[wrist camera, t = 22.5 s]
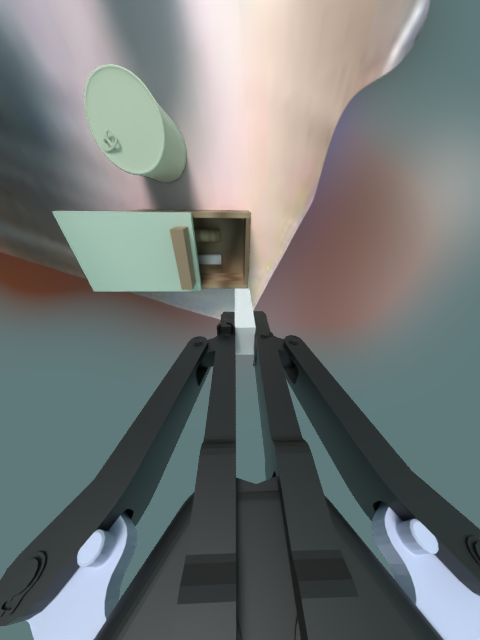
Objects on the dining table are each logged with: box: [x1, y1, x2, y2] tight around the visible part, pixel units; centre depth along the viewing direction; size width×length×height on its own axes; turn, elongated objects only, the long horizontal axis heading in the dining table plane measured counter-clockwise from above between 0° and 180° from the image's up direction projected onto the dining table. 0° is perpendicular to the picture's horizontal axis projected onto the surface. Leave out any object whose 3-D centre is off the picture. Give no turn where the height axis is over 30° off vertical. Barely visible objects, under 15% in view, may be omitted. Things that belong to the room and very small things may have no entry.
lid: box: [52, 211, 202, 291], centre depth 31 cm, size 22×14×5 cm, turn 89°
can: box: [84, 64, 186, 183], centre depth 25 cm, size 9×9×12 cm
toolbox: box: [121, 210, 251, 288], centre depth 36 cm, size 22×14×8 cm, turn 89°
